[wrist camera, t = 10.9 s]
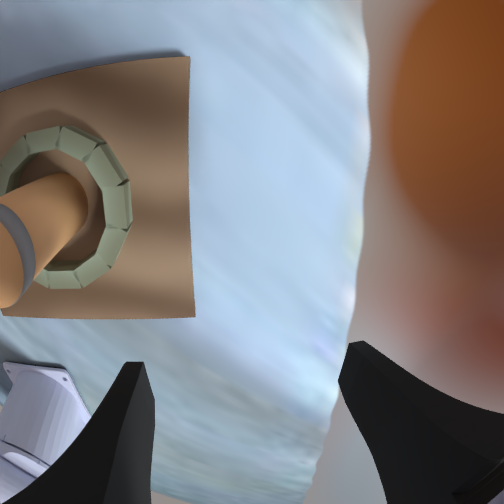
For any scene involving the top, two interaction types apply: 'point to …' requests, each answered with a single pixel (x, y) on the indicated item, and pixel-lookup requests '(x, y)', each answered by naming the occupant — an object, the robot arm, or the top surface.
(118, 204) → the dock socket
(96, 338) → the top surface
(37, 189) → the peg
